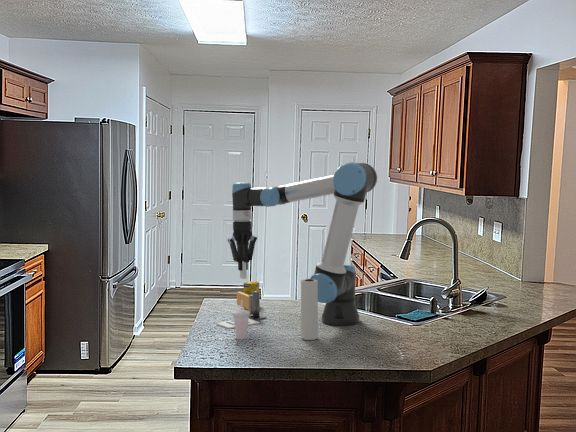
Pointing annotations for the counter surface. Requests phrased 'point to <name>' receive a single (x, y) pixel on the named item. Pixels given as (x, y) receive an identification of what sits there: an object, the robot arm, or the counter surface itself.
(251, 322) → the label tile
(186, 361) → the counter surface
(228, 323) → the label tile
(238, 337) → the smoothie
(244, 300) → the orange rectangular slab
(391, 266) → the counter surface
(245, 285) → the supplement box
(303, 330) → the paper towel roll
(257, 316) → the pivot post
